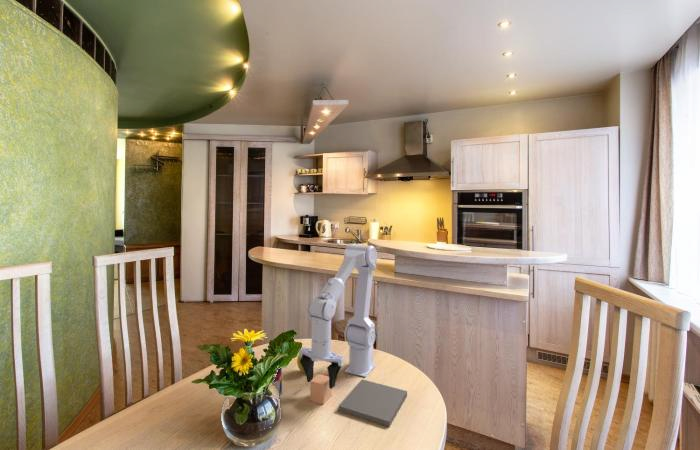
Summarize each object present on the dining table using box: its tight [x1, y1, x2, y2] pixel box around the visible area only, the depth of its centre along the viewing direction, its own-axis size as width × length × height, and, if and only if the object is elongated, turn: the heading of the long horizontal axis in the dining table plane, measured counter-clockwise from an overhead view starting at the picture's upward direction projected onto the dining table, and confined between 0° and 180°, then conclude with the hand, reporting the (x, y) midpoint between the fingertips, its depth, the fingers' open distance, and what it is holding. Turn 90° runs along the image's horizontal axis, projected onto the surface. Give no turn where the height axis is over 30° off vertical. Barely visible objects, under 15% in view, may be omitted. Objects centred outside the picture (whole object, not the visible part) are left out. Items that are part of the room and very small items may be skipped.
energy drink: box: [272, 367, 283, 397], centre depth 99 cm, size 5×5×12 cm
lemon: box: [296, 354, 305, 373], centre depth 113 cm, size 6×6×8 cm
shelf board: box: [338, 379, 408, 428], centre depth 96 cm, size 16×15×2 cm
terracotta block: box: [309, 373, 333, 405], centre depth 98 cm, size 5×5×6 cm
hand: (321, 383), depth 98 cm, fingers open, 7 cm apart
